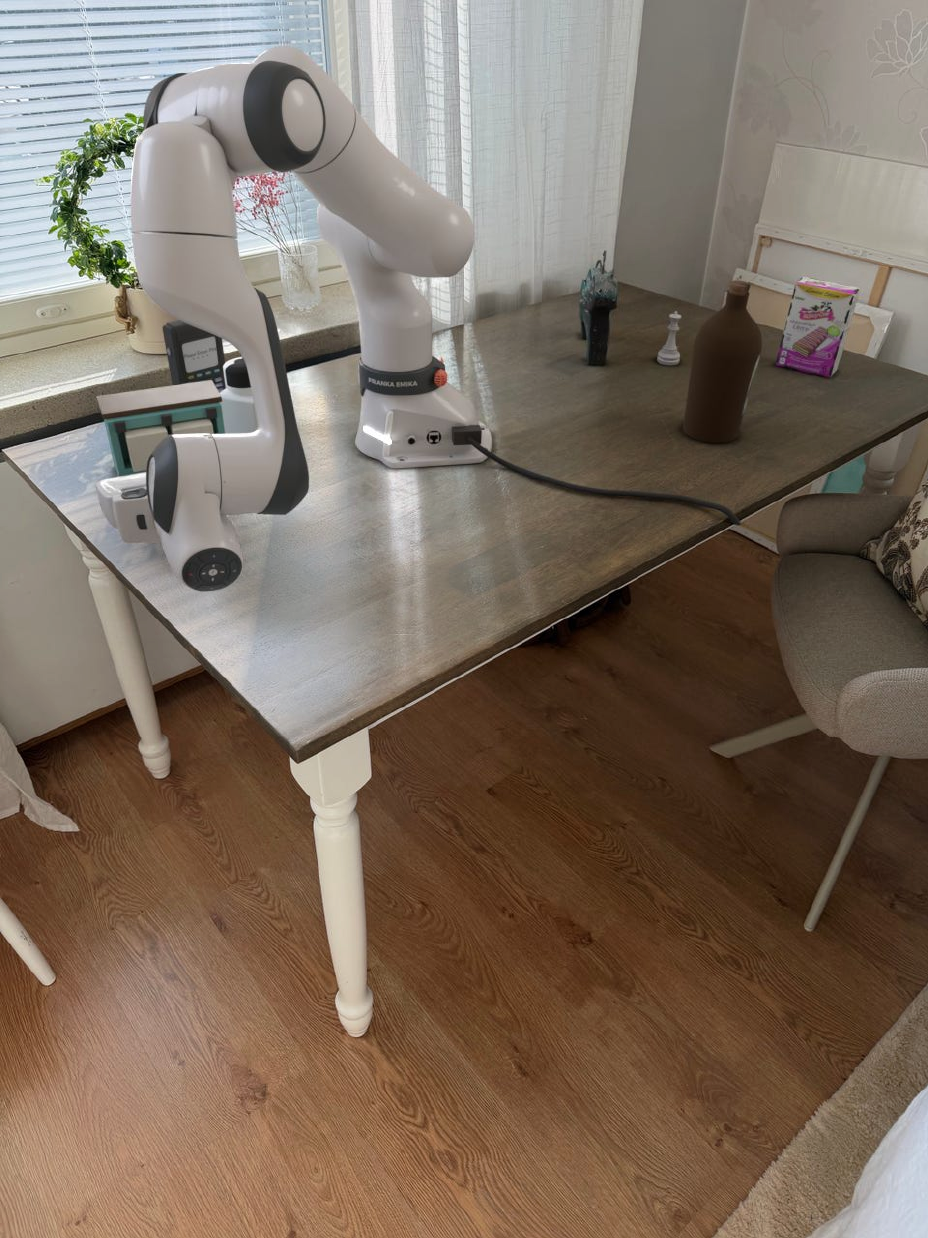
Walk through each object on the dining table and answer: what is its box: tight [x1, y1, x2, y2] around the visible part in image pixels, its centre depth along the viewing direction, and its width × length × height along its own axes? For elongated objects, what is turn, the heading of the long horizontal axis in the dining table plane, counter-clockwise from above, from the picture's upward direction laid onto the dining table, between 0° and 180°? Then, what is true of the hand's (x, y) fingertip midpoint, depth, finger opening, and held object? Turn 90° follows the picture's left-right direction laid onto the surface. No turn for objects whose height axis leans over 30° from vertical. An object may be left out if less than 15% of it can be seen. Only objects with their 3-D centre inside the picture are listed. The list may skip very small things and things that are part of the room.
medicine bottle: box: [220, 356, 259, 434], centre depth 150 cm, size 7×7×12 cm
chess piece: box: [656, 310, 682, 366], centre depth 180 cm, size 4×4×10 cm
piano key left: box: [124, 424, 168, 472], centre depth 133 cm, size 4×6×5 cm, turn 114°
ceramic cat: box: [578, 250, 619, 367], centre depth 181 cm, size 20×6×20 cm, turn 179°
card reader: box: [162, 319, 226, 393], centre depth 157 cm, size 9×4×15 cm, turn 131°
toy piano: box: [95, 380, 225, 477], centre depth 138 cm, size 10×17×12 cm, turn 114°
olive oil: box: [682, 279, 763, 444], centre depth 150 cm, size 11×11×25 cm
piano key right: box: [170, 417, 214, 435], centre depth 135 cm, size 4×6×5 cm, turn 114°
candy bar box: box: [775, 276, 861, 378], centre depth 177 cm, size 11×5×16 cm, turn 58°
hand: (167, 463), depth 129 cm, fingers closed
